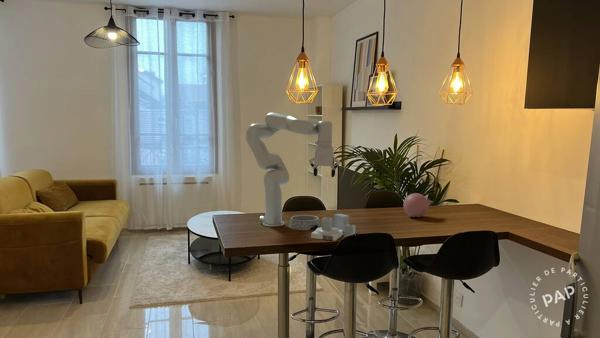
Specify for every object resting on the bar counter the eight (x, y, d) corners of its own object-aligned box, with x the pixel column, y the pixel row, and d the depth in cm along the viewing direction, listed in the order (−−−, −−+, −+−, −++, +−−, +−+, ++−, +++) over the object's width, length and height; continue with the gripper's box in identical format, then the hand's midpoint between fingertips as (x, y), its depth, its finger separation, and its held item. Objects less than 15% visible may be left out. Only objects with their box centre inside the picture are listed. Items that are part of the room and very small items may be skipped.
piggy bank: (439, 219, 264) (440, 194, 262) (409, 220, 260) (410, 195, 258) (427, 214, 279) (428, 191, 277) (398, 215, 275) (399, 191, 273)
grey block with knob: (321, 230, 219) (321, 218, 218) (324, 228, 223) (324, 216, 222) (329, 231, 217) (330, 219, 217) (332, 229, 221) (332, 217, 221)
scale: (310, 238, 216) (310, 231, 216) (319, 232, 229) (319, 225, 229) (334, 241, 211) (335, 234, 211) (342, 234, 224) (343, 228, 224)
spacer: (344, 237, 219) (344, 225, 218) (346, 235, 223) (347, 224, 222) (352, 238, 217) (353, 226, 216) (355, 236, 221) (355, 224, 221)
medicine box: (349, 231, 232) (349, 215, 231) (344, 232, 229) (344, 216, 228) (338, 228, 238) (338, 213, 237) (333, 229, 234) (333, 214, 234)
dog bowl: (282, 226, 243) (283, 217, 242) (307, 221, 254) (307, 213, 254) (302, 232, 230) (302, 222, 229) (326, 227, 241) (326, 218, 241)
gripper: (307, 144, 225) (306, 176, 226) (338, 145, 218) (337, 178, 220) (312, 143, 232) (311, 174, 233) (342, 144, 225) (341, 176, 227)
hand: (324, 176), depth 227 cm, fingers open, 9 cm apart
